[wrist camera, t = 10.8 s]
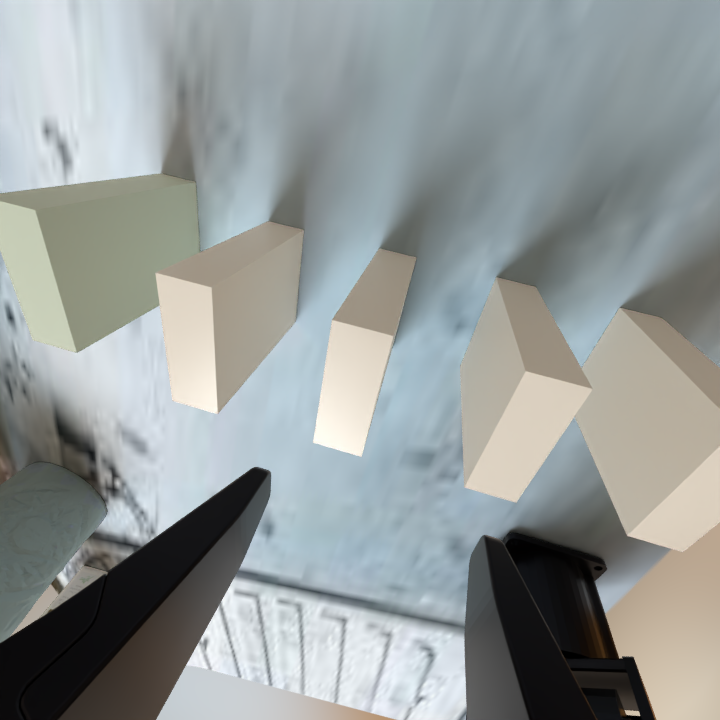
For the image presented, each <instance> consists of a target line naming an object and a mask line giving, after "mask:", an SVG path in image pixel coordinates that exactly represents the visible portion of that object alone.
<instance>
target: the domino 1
mask: <svg viewBox="0 0 720 720" xmlns="http://www.w3.org/2000/svg"><path fill="white" fill-rule="evenodd" d="M0 251H1V254H2V256H3V259H4V262H5V265H6V267H7V270H8V273H9V276H10V278H11V281H12V284H13V287H14V290H15V292H16V295H17V298H18V301H19V303H20V306H21V309H22V312H23V314H24V317H25V320H26V323H27V325H28V328H29V331H30V334H31V336H32V339H33V340H34V341H38V342H41V343H44V344H48V345H51V346H55V347H58V348H62V349H65V350H68V351H72V352H75V353H78V352H79V351H81V350H83V349H85V348H86V347H88V346H90V345H91V344H93V343H95V342H97V341H98V340H100V339H102V338H104V337H105V336H107V335H109V334H111V333H112V332H114V331H116V330H117V329H119V328H121V327H123V326H124V325H126V324H128V323H130V322H131V321H133V320H135V319H137V318H138V317H140V316H142V315H144V314H145V313H147V312H149V311H150V310H152V309H154V308H156V307H157V306H159V305H160V304H159V296H158V289H157V281H156V274H155V273H156V272H158V271H160V270H162V269H164V268H167V267H169V266H171V265H173V264H175V263H178V262H180V261H182V260H184V259H186V258H189V257H191V256H193V255H195V254H197V253H200V242H199V225H198V208H197V191H196V182H194V181H190V180H186V179H182V178H178V177H174V176H169V175H165V174H152V175H144V176H136V177H128V178H120V179H112V180H104V181H96V182H88V183H80V184H72V185H64V186H56V187H48V188H40V189H32V190H24V191H16V192H8V193H0Z"/></svg>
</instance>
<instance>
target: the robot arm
mask: <svg viewBox="0 0 720 720" xmlns="http://www.w3.org/2000/svg"><path fill="white" fill-rule="evenodd" d="M270 492H271V472H270V471H269V470H266V469H263V468H259V467H254V468H252V469H250V470H249V471H248V472H246V473H245V474H243V475H242V476H241V477H239V478H238V479H236V480H235V481H234V482H232V483H231V484H229V485H228V486H227V487H225V488H224V489H222V490H221V491H220V492H218V493H217V494H215V495H214V496H213V497H211V498H210V499H208V500H207V501H206V502H204V503H203V504H201V505H200V506H199V507H197V508H196V509H194V510H193V511H192V512H190V513H189V514H187V515H186V516H185V517H183V518H182V519H180V520H179V521H178V522H176V523H175V524H173V525H172V526H171V527H169V528H168V529H166V530H165V531H164V532H162V533H161V534H159V535H158V536H157V537H155V538H154V539H153V540H151V541H150V542H148V543H147V544H146V545H144V546H143V547H141V548H140V549H139V550H137V551H136V552H134V553H133V554H132V555H130V556H129V557H127V558H126V559H125V560H123V561H122V562H120V563H119V564H118V565H116V566H115V567H113V568H112V569H111V570H109V571H108V573H107V574H103V575H102V576H100V577H99V578H98V579H96V580H95V581H94V582H92V583H91V584H89V585H88V586H87V587H85V588H84V589H82V590H81V591H79V592H78V593H76V594H75V595H74V596H72V597H71V598H69V599H68V600H66V601H65V602H63V603H62V604H60V605H59V606H58V607H56V608H55V609H53V610H52V611H50V612H49V613H47V614H45V615H44V616H42V617H41V618H39V619H38V620H36V621H34V622H33V623H31V624H30V625H28V626H26V627H25V628H24V629H22V630H20V631H19V632H17V633H15V634H14V635H12V636H11V637H9V638H7V639H6V640H4V641H2V642H1V643H0V720H156V719H157V717H158V715H159V713H160V711H161V710H162V708H163V706H164V704H165V702H166V701H167V699H168V697H169V695H170V693H171V692H172V690H173V688H174V686H175V684H176V682H177V681H178V679H179V677H180V675H181V673H182V672H183V669H184V668H185V666H186V664H187V662H188V661H189V659H190V657H191V655H192V653H193V652H194V650H195V648H196V646H197V644H198V642H199V641H200V639H201V637H202V635H203V633H204V632H205V630H206V628H207V626H208V624H209V622H210V621H211V619H212V617H213V615H214V613H215V612H216V610H217V608H218V606H219V604H220V602H221V601H222V599H223V597H224V595H225V593H226V592H227V590H228V588H229V586H230V584H231V582H232V581H233V579H234V577H235V575H236V573H237V571H238V570H239V568H240V566H241V564H242V562H243V559H244V557H245V555H246V553H247V550H248V548H249V546H250V543H251V541H252V538H253V536H254V534H255V531H256V529H257V527H258V524H259V522H260V520H261V517H262V515H263V512H264V510H265V508H266V505H267V503H268V500H269V497H270ZM606 570H607V567H606V564H605V561H604V560H602V559H600V558H597V557H593V556H590V555H587V554H584V553H580V552H577V551H574V550H570V549H567V548H564V547H560V546H557V545H554V544H551V543H547V542H544V541H541V540H537V539H534V538H531V537H528V536H524V535H521V534H518V533H510V534H508V535H507V536H506V537H505V539H504V540H503V542H502V541H501V540H500V539H498V538H494V537H491V536H488V535H483V536H482V537H481V538H480V540H479V542H478V544H477V545H476V547H475V549H474V551H473V552H472V554H471V557H470V563H469V576H468V590H467V605H466V619H465V673H466V702H467V715H466V720H656V717H655V715H654V712H653V709H652V706H651V703H650V700H649V697H648V695H647V692H646V689H645V687H644V684H643V681H642V679H641V676H640V673H639V670H638V668H637V665H636V663H635V660H634V657H622V658H623V659H619V656H618V653H617V650H616V647H615V644H614V641H613V638H612V634H611V631H610V628H609V625H608V622H607V619H606V616H605V612H604V609H603V606H602V603H601V600H600V597H599V594H598V591H597V587H596V584H595V580H597V579H598V578H599V577H600V576H601V575H602V574H603V573H604V572H605V571H606ZM625 710H633V711H639V712H640V716H630V715H626V713H625Z"/></svg>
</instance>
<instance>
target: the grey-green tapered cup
mask: <svg viewBox="0 0 720 720" xmlns="http://www.w3.org/2000/svg"><path fill="white" fill-rule="evenodd" d="M107 512H108V511H107V509H106V505H105V502H104V501H103V499H102V498H101V496H100V495H99V494H98V493H97V492H96V490H95V489H93V487H92V486H91V485H90V484H89V483H87V482H86V481H85V480H84V479H82V478H81V477H79V476H78V475H76V474H74V473H73V472H71V471H69V470H67V469H65V468H63V467H61V466H58V465H55V464H51V463H46V462H37V463H32V464H30V465H28V466H26V467H25V468H24V469H22V470H21V471H19V472H18V473H17V474H15V475H14V476H13V477H11V478H10V479H8V480H7V481H6V482H4V483H3V484H1V485H0V643H1V642H2V641H4V640H6V639H7V638H9V637H10V635H11V634H12V633H13V632H14V630H15V629H16V628H17V627H18V625H19V624H20V623H21V622H22V620H23V619H24V618H25V616H26V615H27V614H28V612H29V611H30V610H31V608H32V607H33V605H34V604H35V603H36V601H37V600H38V599H39V598H40V596H41V595H42V594H43V593H44V591H45V590H46V589H47V588H48V587H49V585H50V584H51V583H52V582H53V580H54V579H55V577H56V575H58V574H59V573H60V572H61V571H62V570H63V569H64V567H65V565H66V564H67V563H68V562H69V560H70V559H71V558H72V557H73V555H74V554H75V553H76V552H77V550H78V549H79V548H80V547H81V545H82V544H83V543H84V542H85V541H86V540H87V539H88V537H89V536H90V535H91V534H92V533H93V532H94V531H95V530H96V529H97V527H98V526H99V525H100V524H101V522H102V521H103V520H104V518H105V516H106V514H107Z"/></svg>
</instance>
